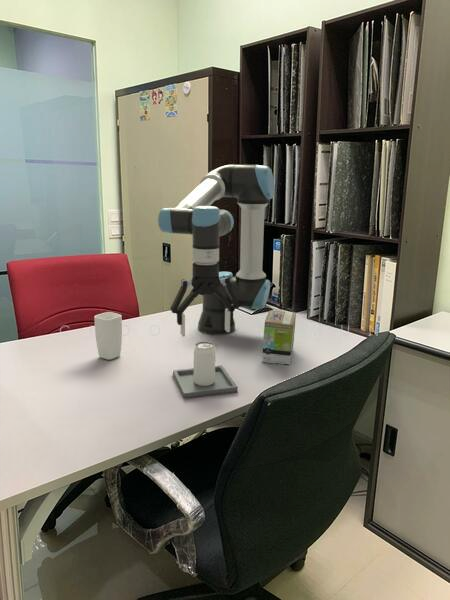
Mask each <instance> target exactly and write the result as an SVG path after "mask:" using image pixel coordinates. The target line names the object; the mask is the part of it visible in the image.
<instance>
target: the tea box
mask: <svg viewBox="0 0 450 600" xmlns="http://www.w3.org/2000/svg"><path fill="white" fill-rule="evenodd" d="M296 317H297V313H296V312H293V311H283V310H282V311H281V310H273V309H271V310H269V311H268V313H267V315H266V318H265V320H264V328H263V341H262V355H261V362H262V363H267V364H268V363H269V364H275V363H279V364H278V365H284V364H289V365H291V362H292V356H293V351H294V342H295V332H296V331H295V330H296V319H297V318H296Z"/></svg>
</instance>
